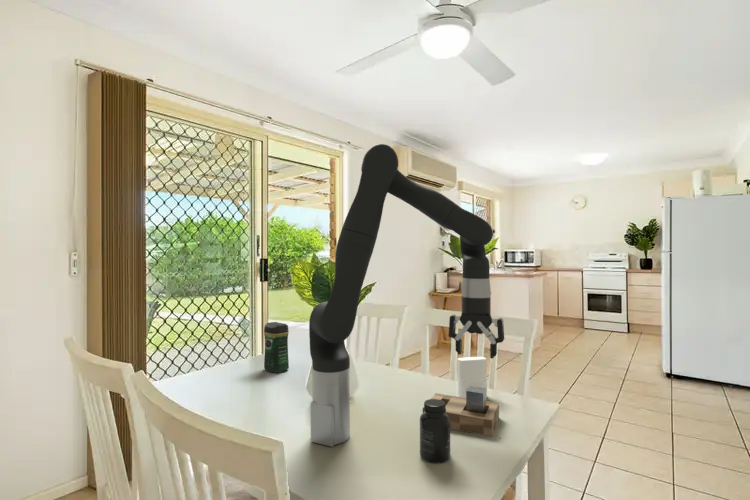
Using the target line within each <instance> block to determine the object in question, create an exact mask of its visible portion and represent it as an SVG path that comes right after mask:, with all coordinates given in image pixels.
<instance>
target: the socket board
mask: <svg viewBox="0 0 750 500" xmlns="http://www.w3.org/2000/svg"><path fill="white" fill-rule="evenodd" d="M430 399H438V400H442V401H444V402H445V403H446V412H445V413H446V414H447V415H448V416H449V418H450V430H456V431H462V432H468V433H472V434H476V435H477V434H478V435H483V436H487V437H492V436H493V434H494V432H495V429H496V426H497V423H498V422H499V418H500V404H499V402H492V401H487V400H486V414H481V413H475V412H469V411H466V398H462V397H458V396H455V395H449V394H443V393H442V394H441V393H434V394H433V395H432V396H431V398H430ZM422 413H424V406H423V407H422ZM497 421H498V422H497Z"/></svg>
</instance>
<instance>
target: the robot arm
mask: <svg viewBox="0 0 750 500" xmlns="http://www.w3.org/2000/svg"><path fill="white" fill-rule="evenodd" d="M398 167H399V158H398V155H397V152H396V151H395V150H394V148H393V147H391V146H390V145H389V144H385V143H379V144H376V145H373V146H372V147H371V148H369V149H368V150H367V151H366V152H365V154H364V157H363V159H362V164H361V169H360V170H361V171H360V172H361V174H360V180H359V184H358V187H357V191H356V194H355V196H354V199H353V201H352V203H351V205H350V207H349V209H348V212H347V215H346V217H345V220H344V222H343V225H342V228H341V231H340V234H339V237H338V240H337V244H336V249H335V255H334V257H335V258H334V259H335V260H334V268H335V269H334V281H333V285H332V288H331V291H330V295H329V297H328V300H327V301H323V302H320V303H318V304H317V305H316V306H314V307H313V309H312V310H311V312H310V316H309V320H308V321H309V326H308V328H309V329H308V331H309V333H308V334H309V335H308V336H309V353H310V357H311V363H312V401H311V403H310V442H312V443H316V444H319V445H323V446H327V447H331V448H333V447H334V446H335V445H336V446H337V445H339V444H342V443H345V442H347V441H348V440H349V439H350V436H351V402H350V401H351V399H350V398H351V391H350V390H351V387H350V385H351V381H350V380H351V377H350V375H351V371H350V370H351V369H350V368H351V367H350V366H351V363H350V361H351V358H350V355H349V353H348V351H347V347H346V344H345V340H347V339H348V338H349V337H350V335H351V334H352V331H353V329H354V327H355V323H356V317H357V312H358V306H359V302H360V297H361V292H362V288H363V284H364V281H365V278H366V275H367V271H368V268H369V265H370V262H371V259H372V256H373V253H374V249H375V246H376V245H375V244H376V241H377V238H378V233H379V230H380V226H381V222H382V216H383V210H384V206H385V205H384V204H385V201H386V197H387V194H389V195H392V196H394V197H395V198H397V199H399V200H401V201H403V202H405V203H407V204H409V205H410V206H412V207H413V208H414V209H416V210H418V211H419V212H421V213H422V214H424V215H425V216H426V217H427V218H429V219H431V220H432V221H433V222H435V223H436V224H438V225H439V226H441V227H442V228H444V229H446V230H449V231H452V232H454V233H455V234H457V235H458V236H459V243H460V251H461V257H462V279H461V280H462V282H461V315H460V316H459V315H456V314H451V315H449V322H448V323H449V324H448V337H449V338H451V339H454V340H455V341H454V342H455V352H456V353H457V355H462V354H463V339H462V338H463V337H464V335H465V334H467V333H469V334H477V335H482V334H484V335H485V336H484V337H486V338H487V339H488V340H489V342H490V344H489V345H490V346H489V347H490V348H489V349H490V350H489V353H490V354H489V357H490V359H494V358H495V357H496V356H497V354H498V353H497V352H498V344H500V343H501V344H502V343H503V342H504V340H505V328H504V319H503V318H502V317H499V318H493V317H492V315H491V309H492V308H491V297H492V296H491V295H492V290H491V281H490V280H491V279H490V260H489V258H488V257H487V256H486V245H488V244H489V243H490V242H491V241H492V239H493V237H494V231H493V228H492V226H491V225H490V224H489V222H488V221H486V220H485V219H483V218H482V217H480V216H478V215H476V214H475V213H473V212H470V211H469V210H467V209H464V208H462V207H461V206H459V204H457V203H455V202H454V201H453V200H451V199H450V198H449V197H447V196H446V195H444V194H442V193H440V192H439V191H437V190H434V189H433V188H430V187H427V186H424V185H422V184H419V183H417V182H416V181H413V180H412V179H410V178H409V177H407V176H406V175H405V174H403V173H402V172H401V171H400V170H398V169H399V168H398ZM459 322H460V323H461V324H462V326H463V327H462V328H461V329H460V331H458V333H456V325H457V324H458V323H459ZM492 324H494V327H495V328H497V337H496V336H495V335H494V332H493V331H492V329H491V328H490V326H491V325H492Z"/></svg>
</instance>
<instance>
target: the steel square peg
mask: <svg viewBox="0 0 750 500" xmlns="http://www.w3.org/2000/svg"><path fill="white" fill-rule="evenodd" d="M486 401H487V399H486V388H482V387H475V386H469V387H468V389H467V390H466V411H469V412H475V413H481V414H486Z"/></svg>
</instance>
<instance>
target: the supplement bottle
mask: <svg viewBox="0 0 750 500" xmlns="http://www.w3.org/2000/svg"><path fill="white" fill-rule="evenodd" d="M423 407H424V413H423V412H422V413H421V415H420V416H419V455H420V457H421V459H422V460H423V461H426V462H427V463H432V464H443V463H445V462H447V461H449V459H450V458H451V428H450V418H449V416H448V415H447V414H446V413H445V412H446V403H445V402H444V401H442V400H438V399H431V398H430V399H425V401H423Z"/></svg>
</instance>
